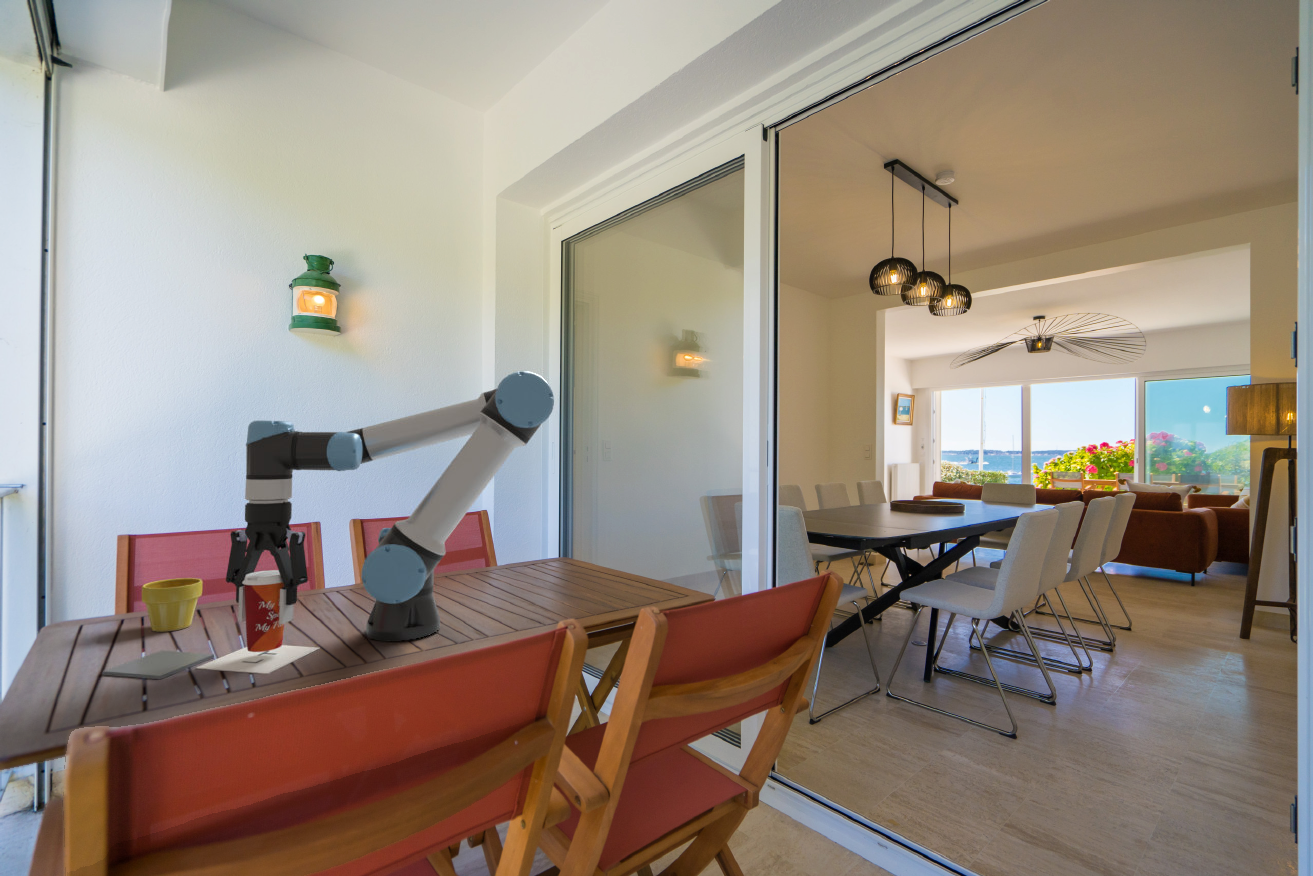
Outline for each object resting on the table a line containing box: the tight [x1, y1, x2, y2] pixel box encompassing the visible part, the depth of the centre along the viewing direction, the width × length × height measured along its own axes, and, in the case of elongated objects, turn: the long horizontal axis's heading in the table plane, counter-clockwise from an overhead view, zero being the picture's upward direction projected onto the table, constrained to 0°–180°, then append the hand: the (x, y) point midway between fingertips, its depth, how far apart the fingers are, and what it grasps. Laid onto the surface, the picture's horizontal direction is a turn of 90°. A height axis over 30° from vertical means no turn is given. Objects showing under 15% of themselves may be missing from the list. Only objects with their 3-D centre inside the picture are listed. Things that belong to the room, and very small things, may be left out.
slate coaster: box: [102, 650, 215, 680], centre depth 109 cm, size 11×11×1 cm
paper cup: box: [242, 569, 285, 652], centre depth 115 cm, size 8×8×14 cm
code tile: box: [195, 644, 321, 675], centre depth 114 cm, size 14×14×1 cm
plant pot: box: [141, 577, 203, 633], centre depth 131 cm, size 10×10×10 cm
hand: (265, 620), depth 115 cm, fingers closed on paper cup, 8 cm apart
